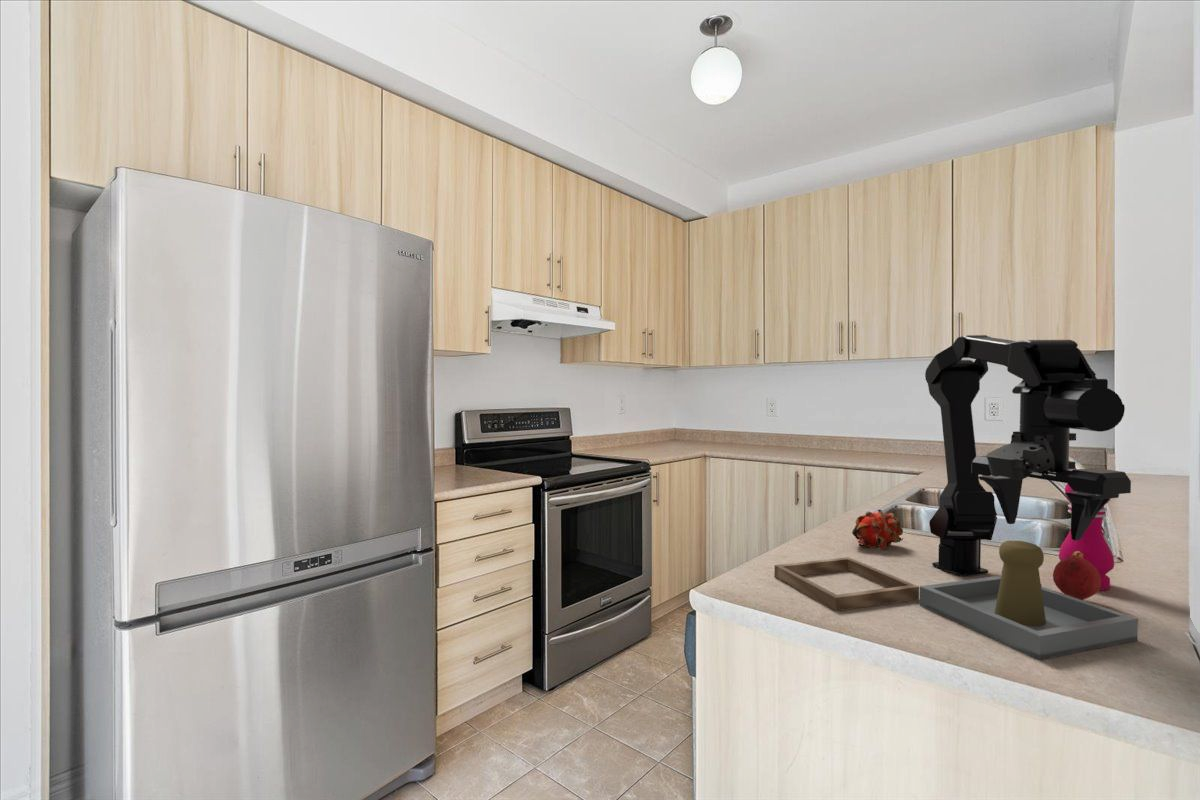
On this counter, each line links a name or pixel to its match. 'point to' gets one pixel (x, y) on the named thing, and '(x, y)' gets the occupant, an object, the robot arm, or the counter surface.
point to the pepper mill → (1091, 546)
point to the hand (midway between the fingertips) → (1041, 531)
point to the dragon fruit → (877, 530)
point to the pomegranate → (1077, 577)
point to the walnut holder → (893, 593)
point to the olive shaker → (1021, 584)
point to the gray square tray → (1063, 633)
